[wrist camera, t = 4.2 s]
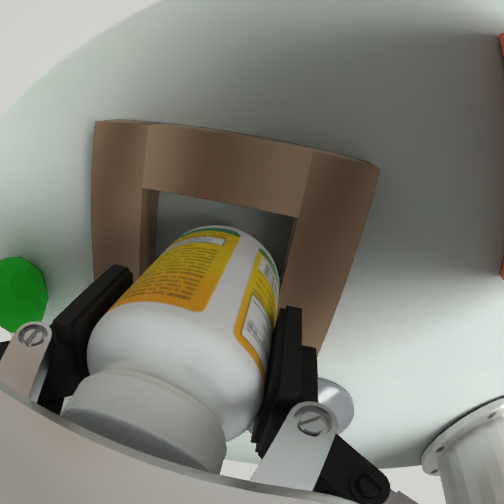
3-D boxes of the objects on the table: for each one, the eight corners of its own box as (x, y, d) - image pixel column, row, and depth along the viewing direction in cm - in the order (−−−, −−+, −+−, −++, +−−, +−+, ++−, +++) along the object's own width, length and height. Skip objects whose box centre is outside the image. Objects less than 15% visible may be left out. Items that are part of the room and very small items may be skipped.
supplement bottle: (304, 269, 14) (303, 481, 5) (237, 342, 16) (187, 518, 7) (201, 196, 13) (46, 339, 4) (147, 283, 15) (33, 432, 6)
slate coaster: (371, 384, 18) (372, 389, 18) (330, 444, 22) (330, 449, 21) (251, 366, 19) (250, 371, 18) (234, 431, 22) (233, 436, 21)
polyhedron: (67, 314, 19) (29, 355, 15) (23, 301, 20) (-14, 335, 15) (51, 249, 17) (3, 284, 13) (7, 243, 17) (-38, 272, 13)
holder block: (368, 162, 13) (379, 168, 11) (303, 363, 18) (303, 387, 16) (117, 119, 13) (95, 121, 12) (115, 318, 18) (101, 337, 17)
